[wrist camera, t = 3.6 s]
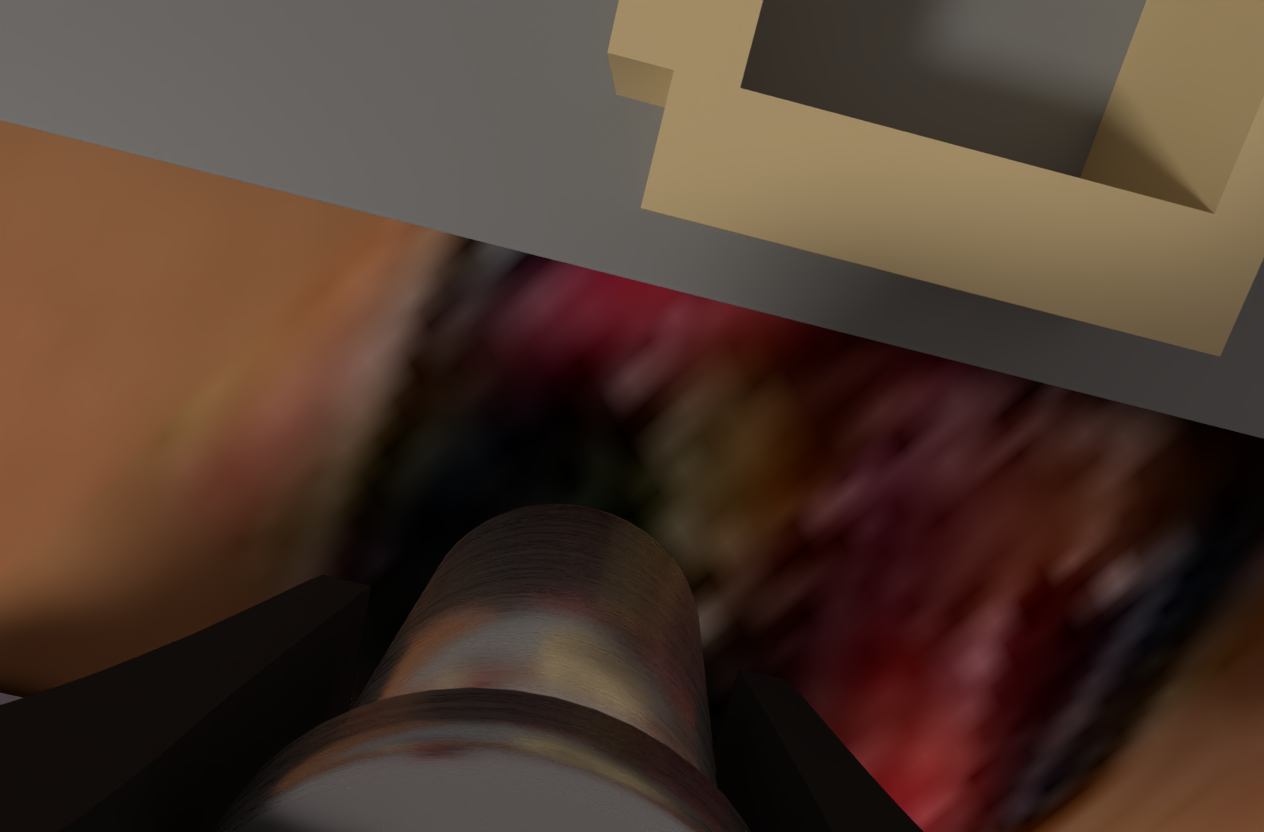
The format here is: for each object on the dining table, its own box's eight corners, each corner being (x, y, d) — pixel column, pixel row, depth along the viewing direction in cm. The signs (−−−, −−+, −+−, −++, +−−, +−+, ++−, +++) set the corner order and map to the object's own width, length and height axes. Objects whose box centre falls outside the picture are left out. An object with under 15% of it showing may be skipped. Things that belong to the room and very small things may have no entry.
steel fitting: (679, 808, 12) (701, 1359, 6) (370, 735, 12) (99, 1231, 6) (769, 522, 11) (900, 874, 5) (427, 438, 11) (160, 704, 5)
